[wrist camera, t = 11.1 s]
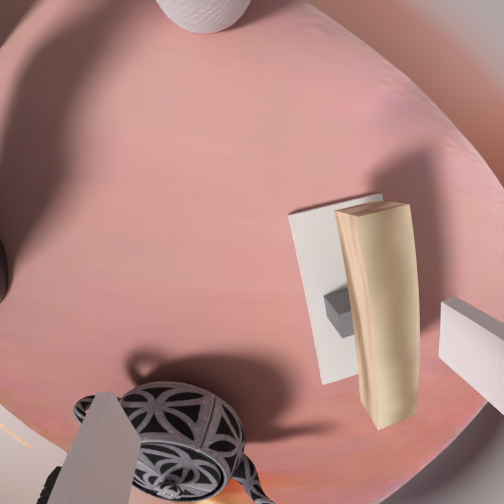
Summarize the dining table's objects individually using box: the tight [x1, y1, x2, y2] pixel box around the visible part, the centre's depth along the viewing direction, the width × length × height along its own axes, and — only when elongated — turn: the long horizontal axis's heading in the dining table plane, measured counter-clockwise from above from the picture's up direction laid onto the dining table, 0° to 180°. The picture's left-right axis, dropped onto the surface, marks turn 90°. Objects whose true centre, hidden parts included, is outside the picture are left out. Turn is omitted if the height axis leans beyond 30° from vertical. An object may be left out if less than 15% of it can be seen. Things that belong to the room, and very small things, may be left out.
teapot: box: [73, 381, 276, 504], centre depth 35 cm, size 19×31×15 cm, turn 56°
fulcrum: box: [288, 193, 384, 385], centre depth 36 cm, size 12×24×7 cm, turn 14°
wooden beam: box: [334, 200, 420, 430], centre depth 29 cm, size 5×24×6 cm, turn 14°
